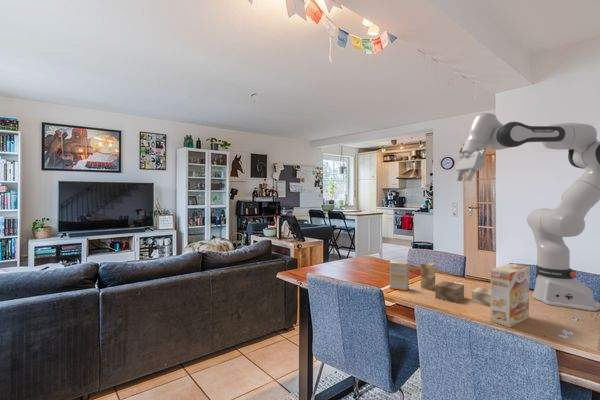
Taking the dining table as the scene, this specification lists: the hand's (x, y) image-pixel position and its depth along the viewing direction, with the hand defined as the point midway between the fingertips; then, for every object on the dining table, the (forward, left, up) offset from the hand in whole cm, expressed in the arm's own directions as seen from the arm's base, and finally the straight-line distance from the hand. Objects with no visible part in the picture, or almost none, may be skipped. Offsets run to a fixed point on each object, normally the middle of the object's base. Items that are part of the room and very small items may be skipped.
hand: (463, 180), depth 143 cm
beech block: (-9, -1, -52) cm, 53 cm away
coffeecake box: (-21, +13, -52) cm, 58 cm away
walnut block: (+4, +4, -52) cm, 52 cm away
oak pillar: (+17, -4, -52) cm, 55 cm away
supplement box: (+27, +6, -52) cm, 59 cm away
